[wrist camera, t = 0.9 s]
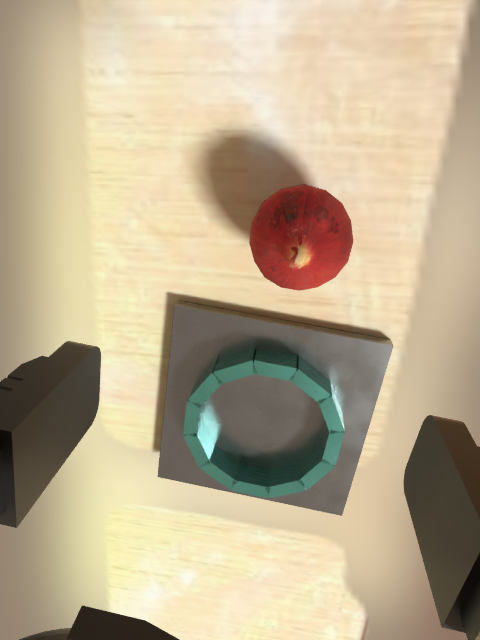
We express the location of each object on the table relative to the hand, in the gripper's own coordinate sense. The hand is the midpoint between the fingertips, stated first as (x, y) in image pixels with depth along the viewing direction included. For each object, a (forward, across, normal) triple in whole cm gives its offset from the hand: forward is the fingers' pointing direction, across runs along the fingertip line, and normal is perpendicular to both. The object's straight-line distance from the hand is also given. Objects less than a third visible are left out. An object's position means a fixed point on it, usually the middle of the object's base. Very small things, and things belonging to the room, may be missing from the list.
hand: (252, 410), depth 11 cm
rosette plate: (+20, -1, +13) cm, 24 cm away
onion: (+21, -1, -1) cm, 21 cm away
